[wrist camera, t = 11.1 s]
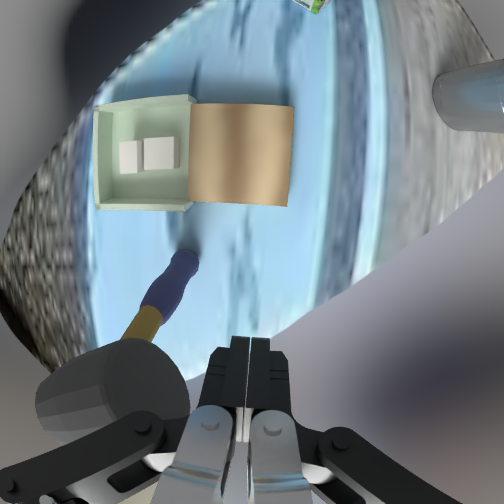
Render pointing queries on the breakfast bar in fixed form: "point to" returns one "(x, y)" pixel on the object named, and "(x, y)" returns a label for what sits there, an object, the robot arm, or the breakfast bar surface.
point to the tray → (138, 128)
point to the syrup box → (313, 4)
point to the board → (240, 153)
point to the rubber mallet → (121, 369)
